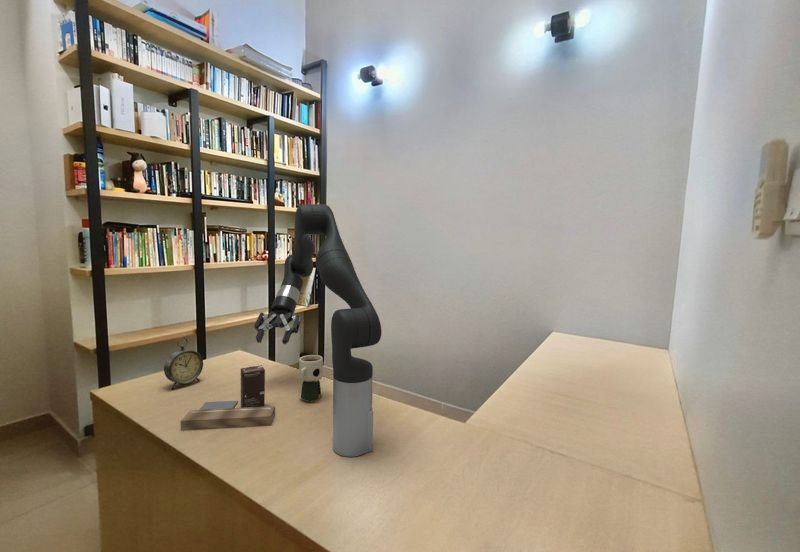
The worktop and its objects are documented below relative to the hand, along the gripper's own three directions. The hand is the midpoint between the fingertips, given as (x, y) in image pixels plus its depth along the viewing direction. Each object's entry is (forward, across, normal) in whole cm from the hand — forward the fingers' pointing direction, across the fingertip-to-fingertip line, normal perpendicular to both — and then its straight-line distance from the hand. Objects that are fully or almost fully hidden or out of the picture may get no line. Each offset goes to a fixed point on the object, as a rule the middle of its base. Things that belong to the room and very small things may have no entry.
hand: (271, 342), depth 114 cm
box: (+20, 0, +3) cm, 20 cm away
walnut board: (+26, -2, -3) cm, 26 cm away
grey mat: (+22, -10, +2) cm, 24 cm away
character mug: (+14, +14, +10) cm, 22 cm away
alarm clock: (+11, -31, +13) cm, 36 cm away
